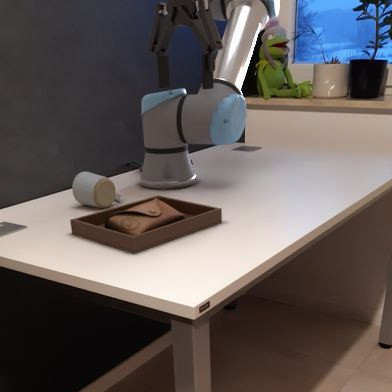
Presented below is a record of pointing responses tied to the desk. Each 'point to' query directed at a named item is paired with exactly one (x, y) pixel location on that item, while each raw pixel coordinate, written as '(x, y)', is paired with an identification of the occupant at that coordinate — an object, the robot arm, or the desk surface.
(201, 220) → the valet tray
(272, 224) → the desk surface
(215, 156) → the desk surface
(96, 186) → the ceramic mug
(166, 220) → the sunglasses case
